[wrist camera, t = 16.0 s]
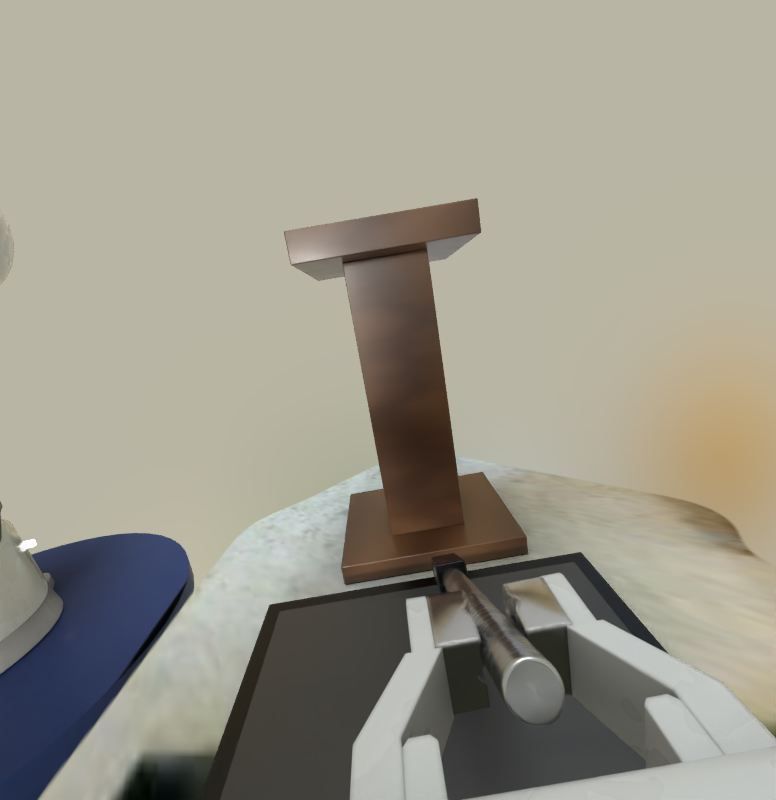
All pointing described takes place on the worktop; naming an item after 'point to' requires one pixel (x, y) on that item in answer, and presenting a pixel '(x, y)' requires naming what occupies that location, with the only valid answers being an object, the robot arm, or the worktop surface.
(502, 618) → the stylus
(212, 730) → the worktop surface
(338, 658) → the tablet
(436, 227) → the brown wooden pedestal
